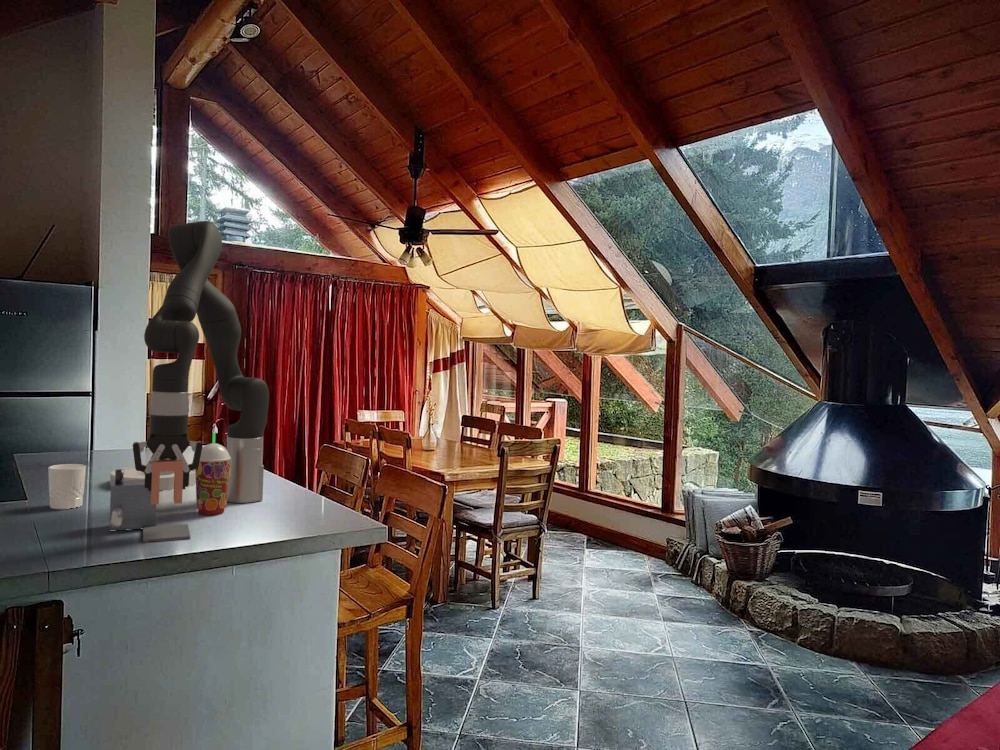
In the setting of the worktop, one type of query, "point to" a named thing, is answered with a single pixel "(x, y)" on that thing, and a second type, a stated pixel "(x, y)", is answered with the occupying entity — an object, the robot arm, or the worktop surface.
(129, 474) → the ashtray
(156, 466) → the notched orange block
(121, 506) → the vise block
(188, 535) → the mat
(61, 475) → the white cup
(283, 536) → the worktop surface
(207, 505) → the smoothie
